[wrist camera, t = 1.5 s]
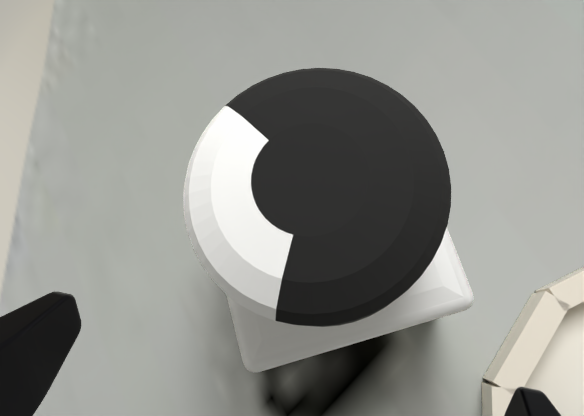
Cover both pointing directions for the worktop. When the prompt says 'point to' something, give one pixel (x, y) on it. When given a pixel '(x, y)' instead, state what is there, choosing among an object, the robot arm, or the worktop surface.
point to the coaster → (543, 350)
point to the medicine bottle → (323, 215)
